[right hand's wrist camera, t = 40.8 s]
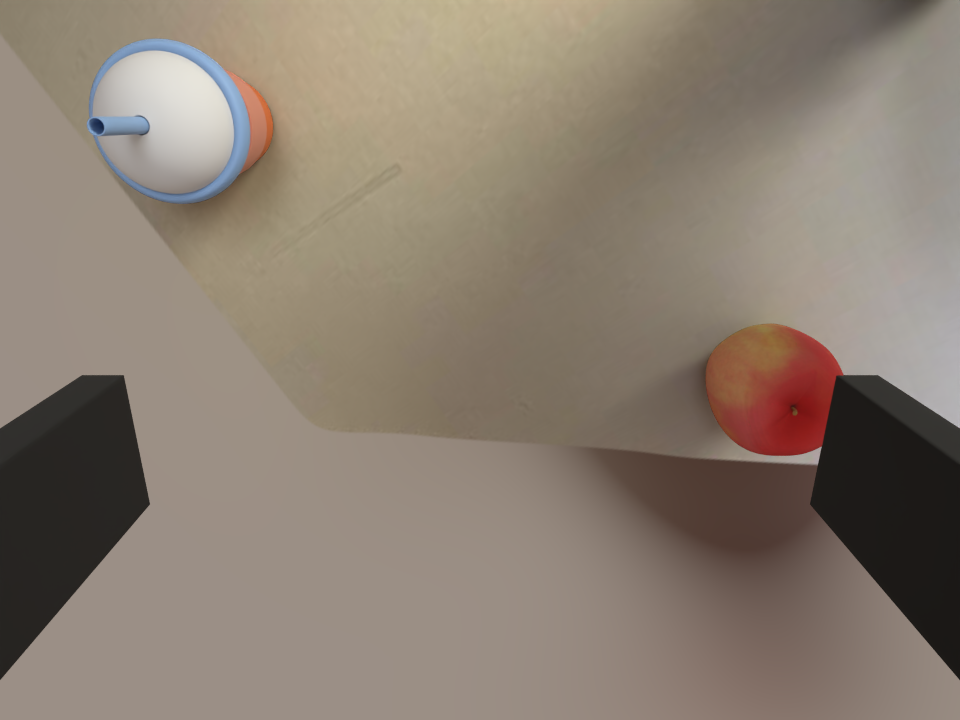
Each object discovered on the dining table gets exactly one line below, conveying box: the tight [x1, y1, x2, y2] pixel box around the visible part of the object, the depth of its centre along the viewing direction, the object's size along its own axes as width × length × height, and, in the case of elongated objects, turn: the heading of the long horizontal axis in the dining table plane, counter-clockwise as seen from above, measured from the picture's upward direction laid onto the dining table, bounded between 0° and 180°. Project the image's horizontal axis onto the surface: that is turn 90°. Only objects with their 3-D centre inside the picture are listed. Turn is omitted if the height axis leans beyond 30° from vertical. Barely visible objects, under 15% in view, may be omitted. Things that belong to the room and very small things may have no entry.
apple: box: [706, 324, 843, 456], centre depth 50 cm, size 10×10×10 cm
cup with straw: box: [87, 39, 273, 204], centre depth 39 cm, size 9×9×18 cm
